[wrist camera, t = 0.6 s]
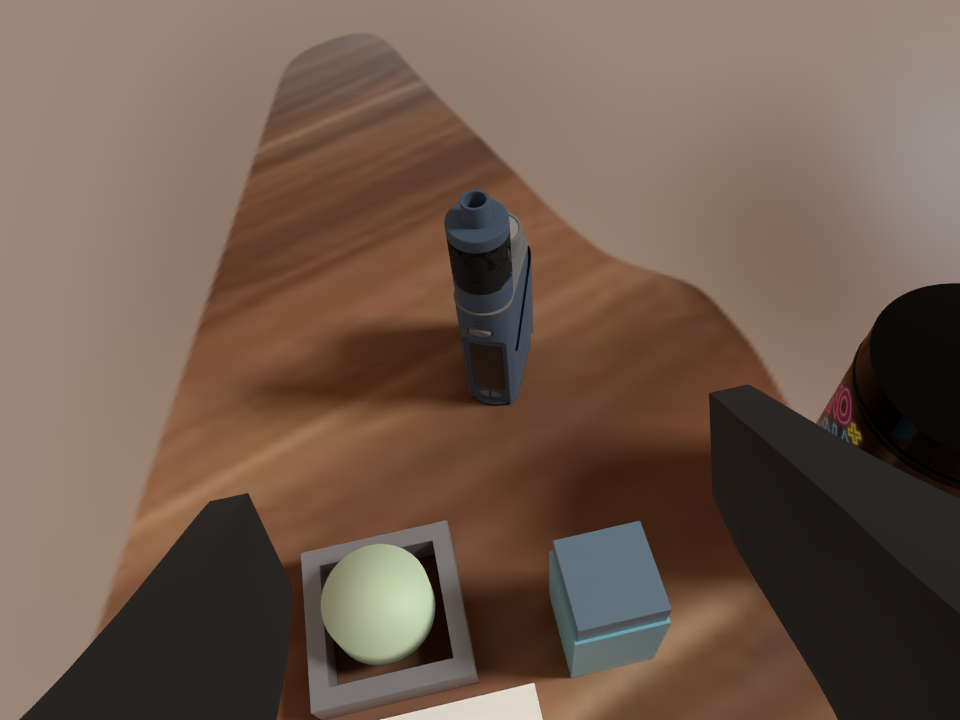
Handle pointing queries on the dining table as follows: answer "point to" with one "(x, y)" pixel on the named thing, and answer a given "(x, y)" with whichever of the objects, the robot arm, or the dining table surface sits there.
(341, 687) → the button housing
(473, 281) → the vaping device
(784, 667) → the dining table surface
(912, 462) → the supplement container
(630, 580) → the teal block
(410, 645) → the button
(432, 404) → the dining table surface
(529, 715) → the paper
